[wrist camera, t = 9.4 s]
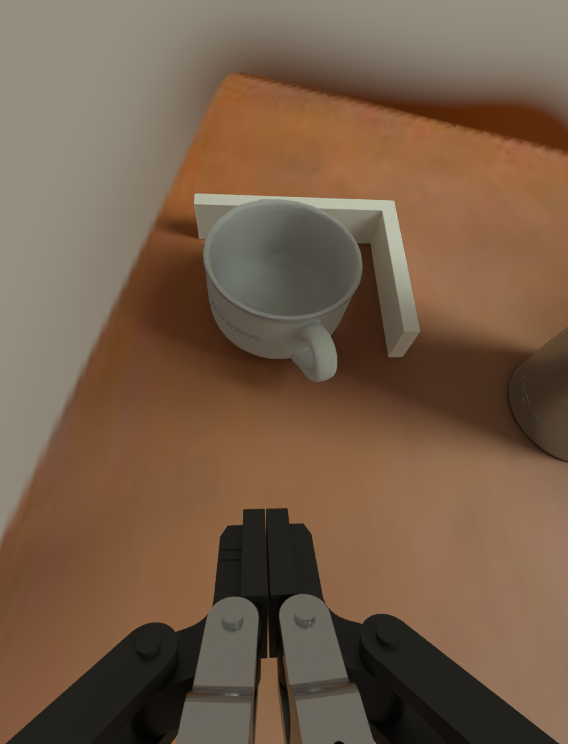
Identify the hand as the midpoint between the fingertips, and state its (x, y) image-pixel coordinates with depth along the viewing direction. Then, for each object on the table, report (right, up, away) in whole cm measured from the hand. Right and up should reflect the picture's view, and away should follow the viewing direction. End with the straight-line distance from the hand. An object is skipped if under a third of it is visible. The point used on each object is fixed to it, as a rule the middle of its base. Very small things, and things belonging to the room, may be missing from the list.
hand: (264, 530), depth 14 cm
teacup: (0, +8, +21) cm, 22 cm away
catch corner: (+2, +12, +22) cm, 26 cm away
